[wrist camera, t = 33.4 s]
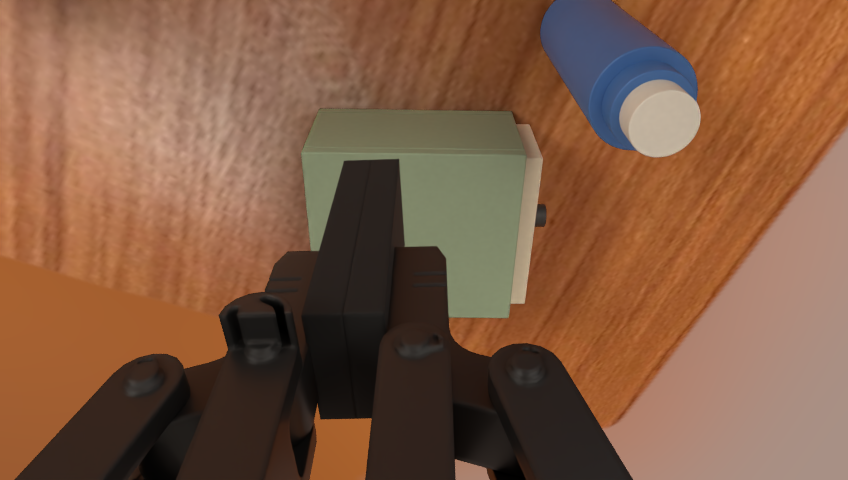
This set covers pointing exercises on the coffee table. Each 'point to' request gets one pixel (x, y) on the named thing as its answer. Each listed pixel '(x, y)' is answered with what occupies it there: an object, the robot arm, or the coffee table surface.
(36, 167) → the coffee table surface
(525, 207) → the drawer
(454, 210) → the cabinet
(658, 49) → the bottle
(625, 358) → the coffee table surface
